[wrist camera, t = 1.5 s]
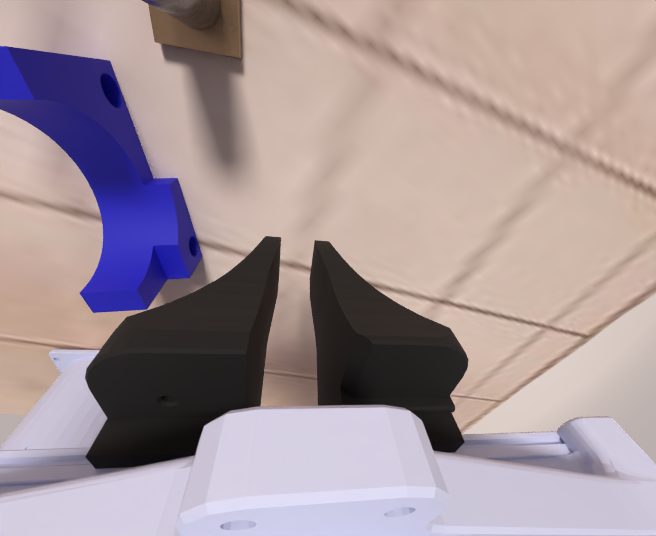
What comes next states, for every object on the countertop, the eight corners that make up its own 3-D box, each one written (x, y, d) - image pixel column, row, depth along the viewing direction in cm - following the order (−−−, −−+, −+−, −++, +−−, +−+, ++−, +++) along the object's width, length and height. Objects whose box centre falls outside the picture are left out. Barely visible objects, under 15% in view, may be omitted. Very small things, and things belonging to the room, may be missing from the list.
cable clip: (203, 255, 21) (173, 307, 16) (143, 257, 20) (93, 312, 15) (141, 61, 14) (54, 46, 9) (49, 60, 13) (-95, 45, 9)
